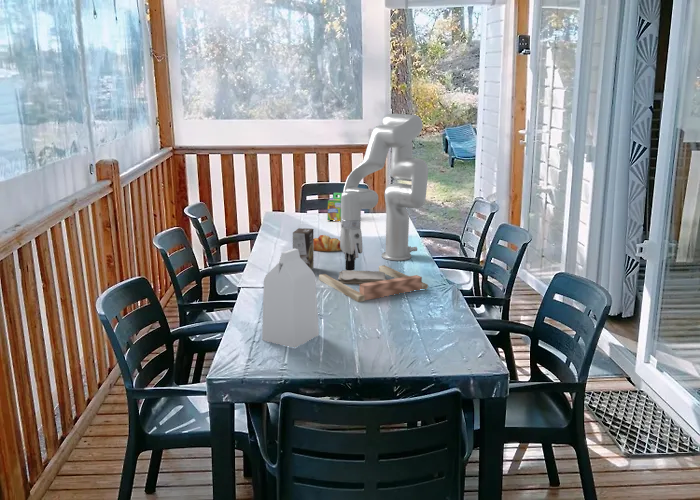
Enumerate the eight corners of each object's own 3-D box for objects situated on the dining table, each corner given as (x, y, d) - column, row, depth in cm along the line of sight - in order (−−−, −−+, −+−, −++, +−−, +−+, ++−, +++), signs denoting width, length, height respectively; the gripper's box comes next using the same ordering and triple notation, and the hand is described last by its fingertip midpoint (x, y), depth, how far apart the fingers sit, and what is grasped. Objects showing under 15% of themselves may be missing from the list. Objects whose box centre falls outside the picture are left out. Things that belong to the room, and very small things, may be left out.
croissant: (350, 256, 294) (351, 239, 296) (348, 251, 284) (350, 233, 286) (303, 253, 295) (304, 236, 297) (300, 248, 285) (302, 230, 287)
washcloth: (338, 276, 253) (338, 268, 252) (385, 277, 252) (385, 269, 252) (337, 285, 241) (337, 277, 240) (386, 286, 241) (386, 278, 240)
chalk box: (327, 221, 350) (327, 194, 347) (330, 218, 359) (330, 191, 355) (344, 222, 349) (344, 194, 345) (347, 218, 358) (347, 192, 354)
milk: (294, 348, 182) (293, 258, 175) (262, 340, 188) (260, 252, 181) (319, 335, 192) (319, 249, 185) (287, 327, 198) (286, 243, 191)
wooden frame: (384, 270, 260) (384, 257, 259) (427, 289, 236) (428, 276, 234) (319, 279, 246) (319, 267, 245) (358, 302, 221) (358, 287, 220)
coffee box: (308, 274, 253) (308, 233, 249) (292, 272, 255) (291, 232, 251) (314, 267, 262) (314, 228, 258) (298, 266, 263) (298, 227, 259)
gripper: (369, 226, 245) (368, 273, 250) (349, 219, 258) (349, 264, 262) (351, 228, 241) (351, 276, 246) (332, 220, 254) (332, 266, 259)
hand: (350, 269), depth 254 cm, fingers closed
